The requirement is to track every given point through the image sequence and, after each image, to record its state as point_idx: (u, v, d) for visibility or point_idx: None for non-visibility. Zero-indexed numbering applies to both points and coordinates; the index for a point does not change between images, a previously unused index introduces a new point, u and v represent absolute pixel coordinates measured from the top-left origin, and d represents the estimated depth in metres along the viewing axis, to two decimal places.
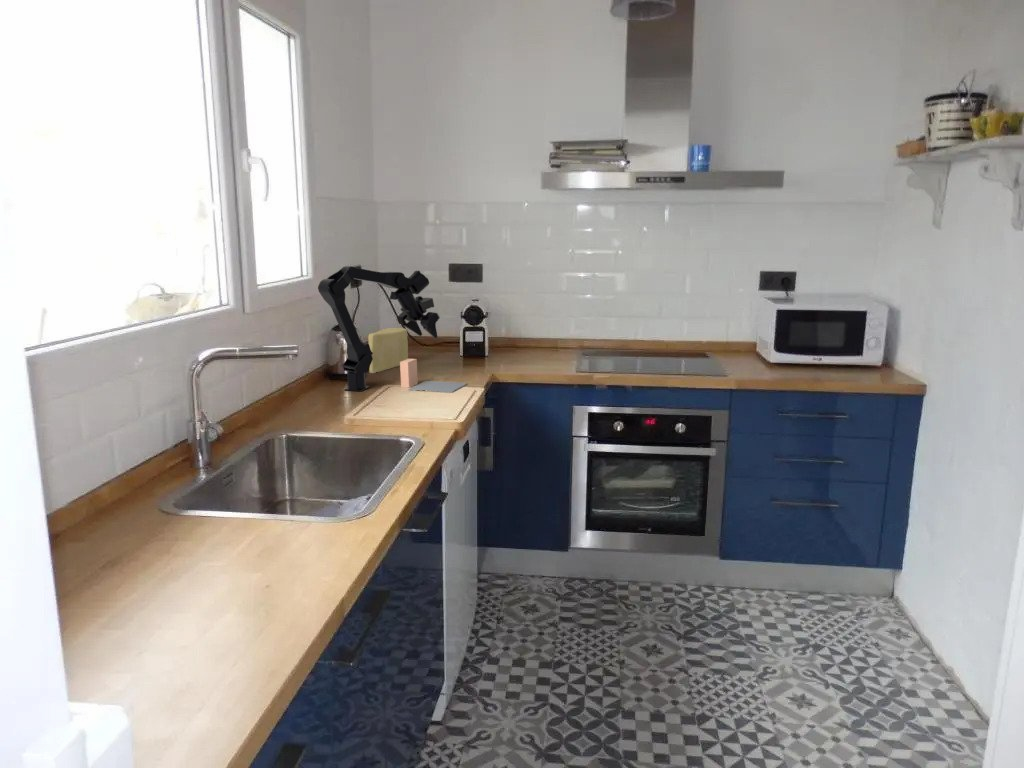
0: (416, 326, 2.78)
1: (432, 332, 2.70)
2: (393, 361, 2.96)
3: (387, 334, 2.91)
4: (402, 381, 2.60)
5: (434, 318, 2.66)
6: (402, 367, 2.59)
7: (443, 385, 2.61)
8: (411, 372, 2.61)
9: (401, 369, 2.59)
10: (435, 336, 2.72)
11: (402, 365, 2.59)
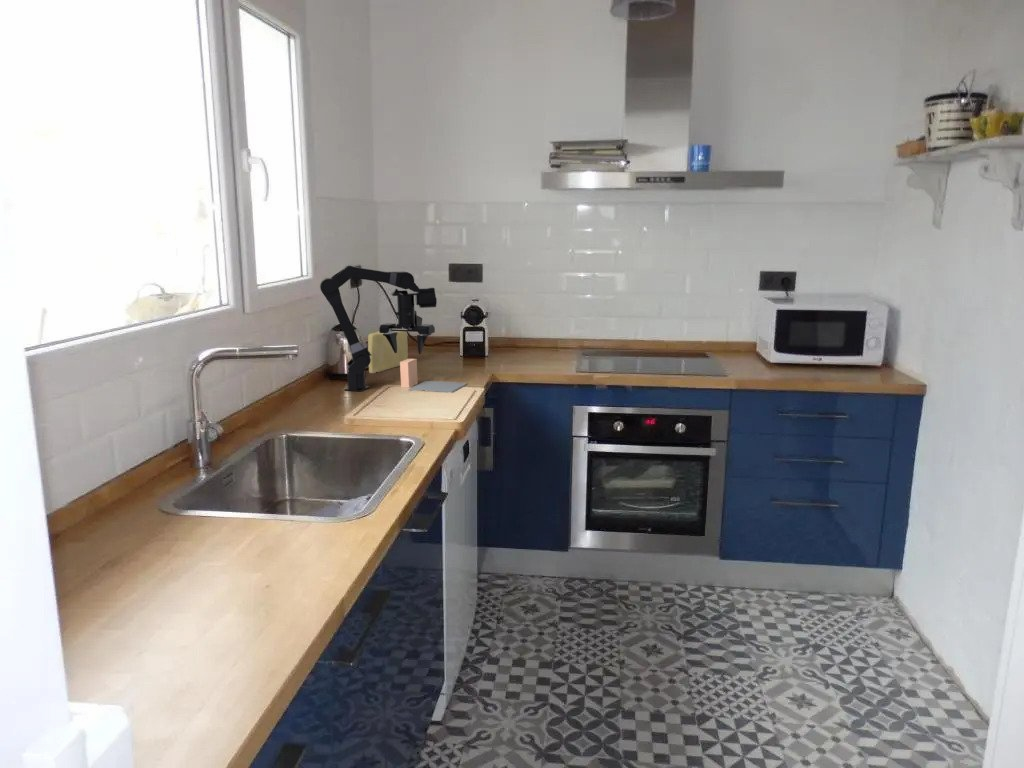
0: (395, 341, 2.62)
1: (421, 345, 2.58)
2: (392, 361, 2.96)
3: None
4: (402, 381, 2.60)
5: (432, 329, 2.57)
6: (402, 367, 2.59)
7: (443, 385, 2.61)
8: (411, 372, 2.61)
9: (401, 369, 2.59)
10: (420, 352, 2.59)
11: (402, 365, 2.59)
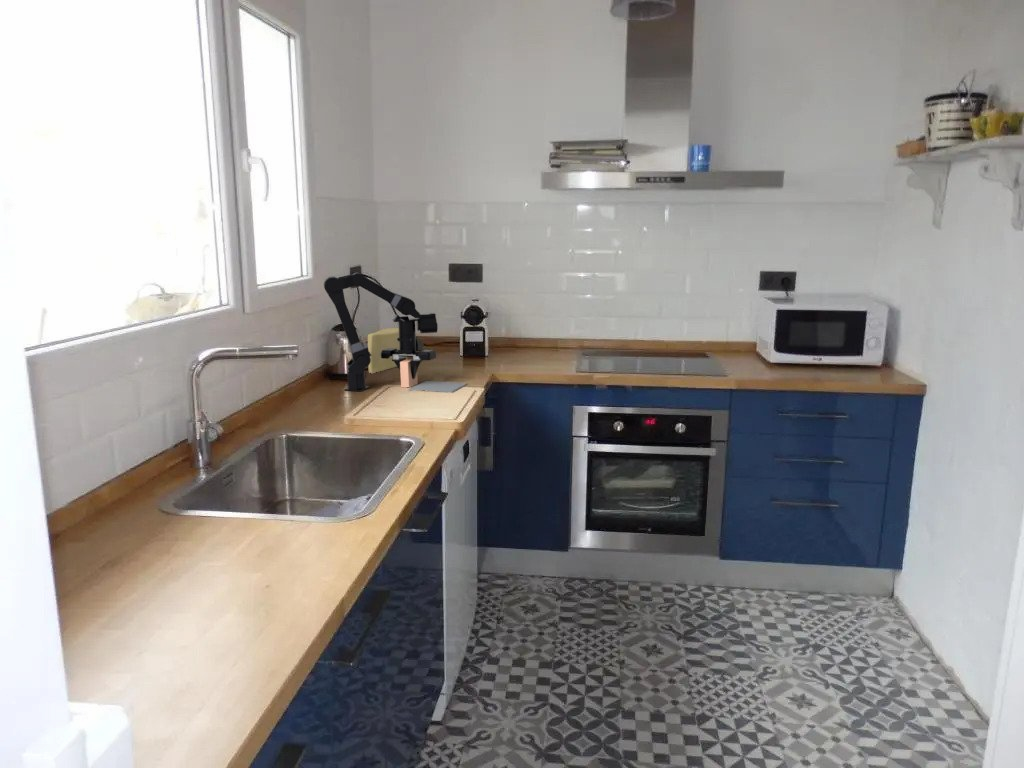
0: None
1: (415, 370, 2.61)
2: (392, 361, 2.96)
3: (386, 334, 2.91)
4: (402, 381, 2.60)
5: (433, 355, 2.59)
6: (402, 367, 2.59)
7: (443, 385, 2.61)
8: None
9: (401, 369, 2.59)
10: (414, 376, 2.62)
11: (402, 365, 2.59)
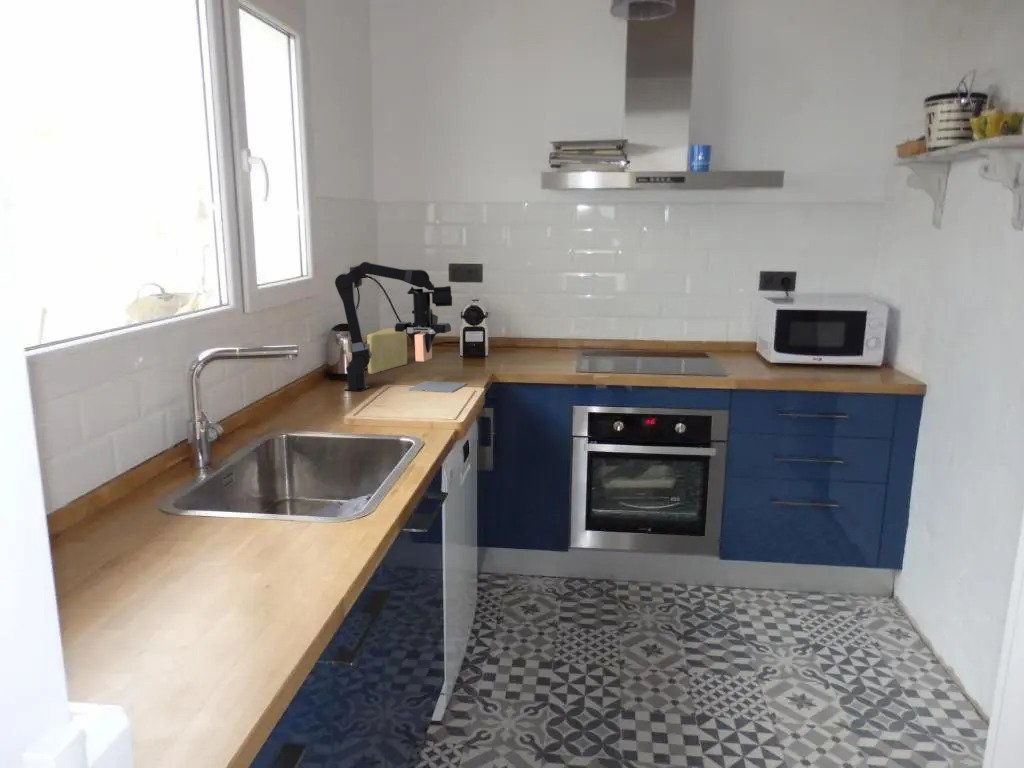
0: None
1: (429, 343, 2.57)
2: (392, 361, 2.95)
3: (386, 334, 2.91)
4: (416, 355, 2.56)
5: (448, 328, 2.55)
6: (417, 340, 2.55)
7: (443, 385, 2.61)
8: (425, 346, 2.57)
9: (416, 342, 2.55)
10: (428, 350, 2.58)
11: (416, 338, 2.55)
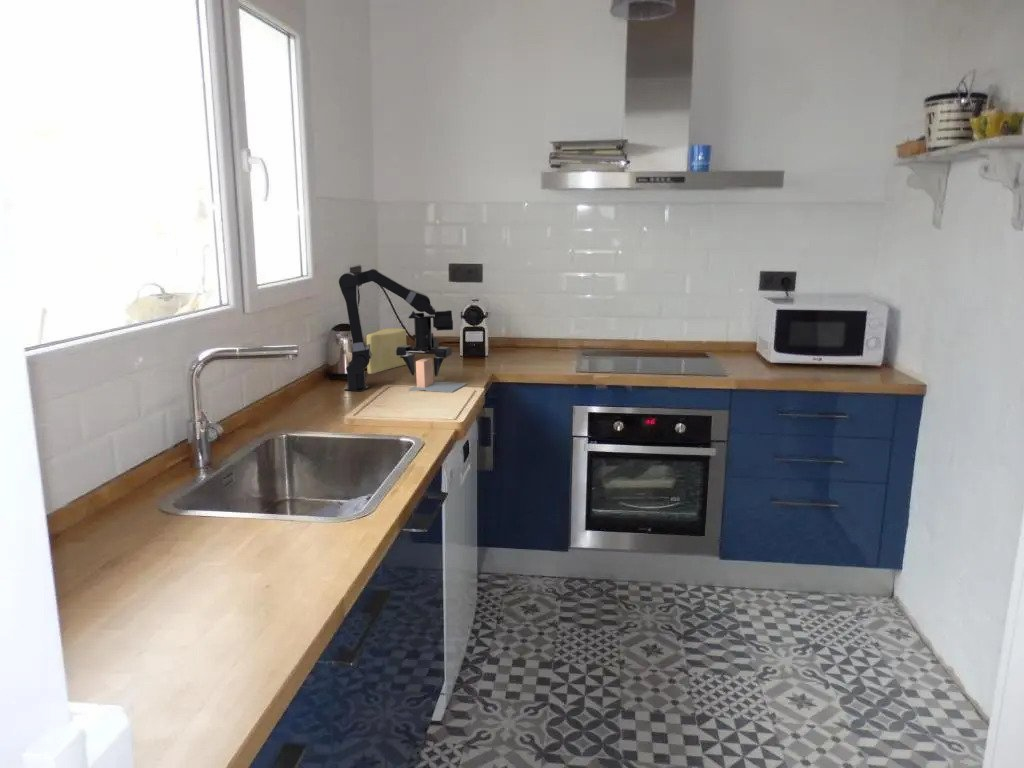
0: (412, 364, 2.62)
1: (437, 367, 2.58)
2: (391, 361, 2.95)
3: (385, 335, 2.90)
4: (418, 381, 2.58)
5: (449, 352, 2.57)
6: (418, 366, 2.57)
7: (443, 385, 2.61)
8: (426, 372, 2.59)
9: (417, 368, 2.57)
10: (436, 374, 2.59)
11: (418, 364, 2.57)
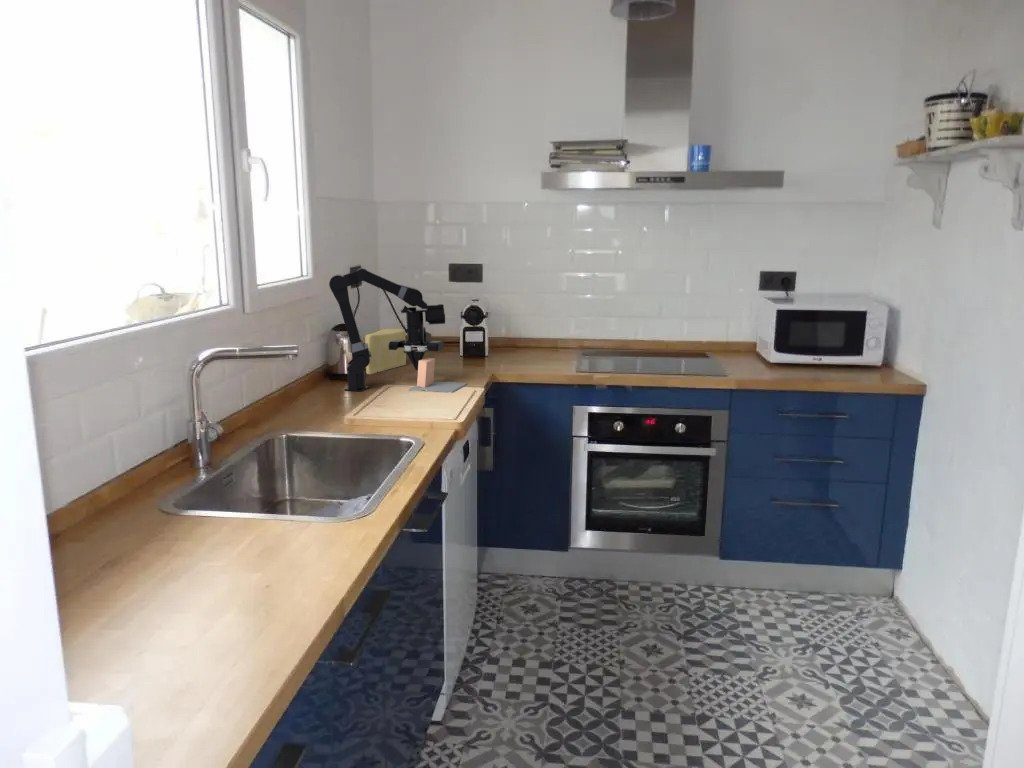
0: None
1: None
2: (390, 362, 2.94)
3: (384, 335, 2.89)
4: (418, 380, 2.58)
5: (441, 346, 2.57)
6: (420, 366, 2.57)
7: (443, 385, 2.61)
8: (428, 372, 2.59)
9: (419, 368, 2.57)
10: None
11: (420, 364, 2.57)
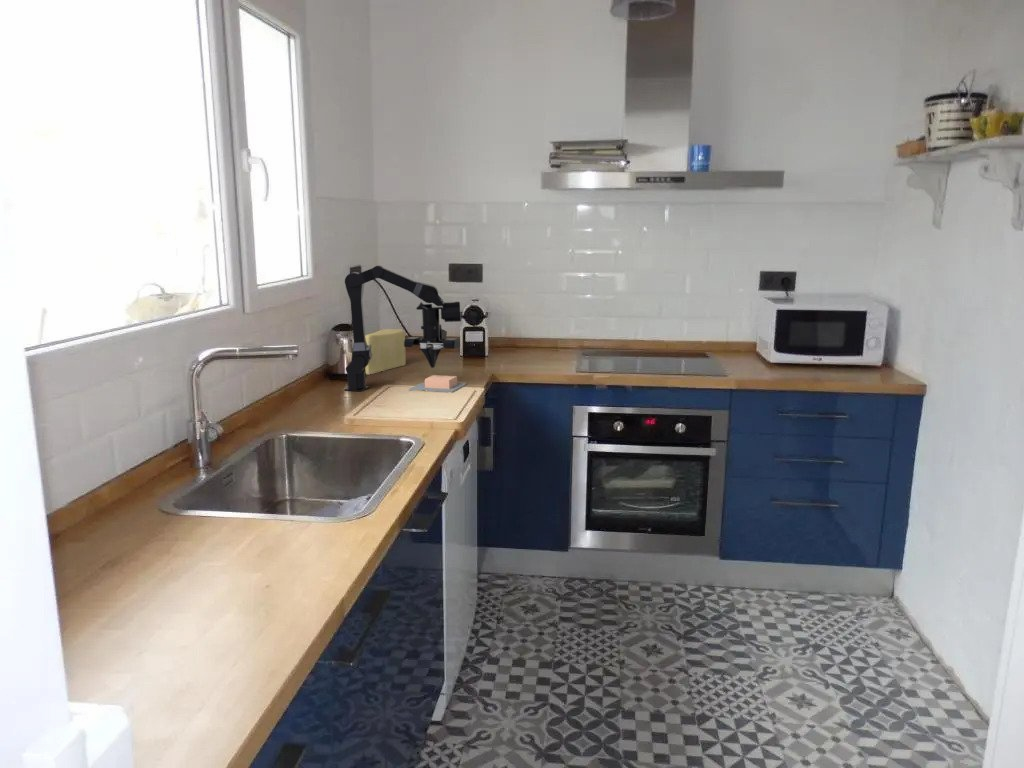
0: None
1: (434, 358, 2.57)
2: (389, 362, 2.93)
3: (384, 335, 2.89)
4: (430, 380, 2.57)
5: (457, 343, 2.55)
6: (444, 382, 2.55)
7: None
8: None
9: (442, 381, 2.55)
10: (433, 365, 2.59)
11: (446, 382, 2.55)
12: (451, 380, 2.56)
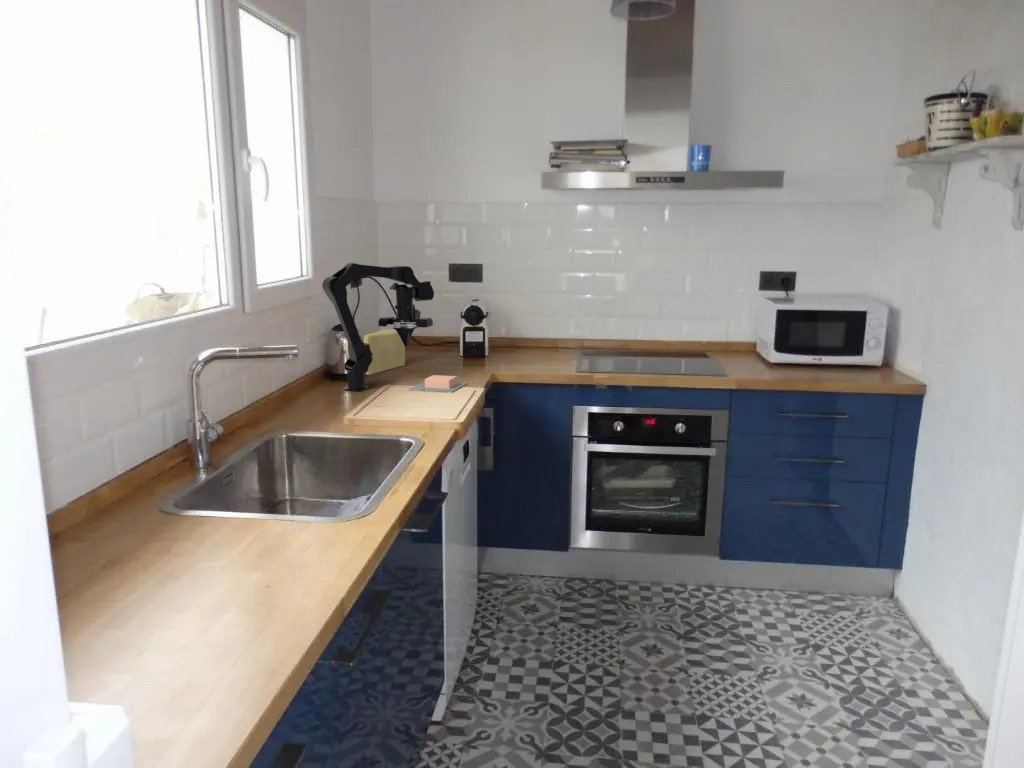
0: None
1: (408, 337, 2.64)
2: (389, 362, 2.93)
3: (383, 335, 2.88)
4: (430, 380, 2.57)
5: (430, 322, 2.62)
6: (444, 382, 2.55)
7: None
8: None
9: (442, 381, 2.55)
10: (407, 344, 2.66)
11: (446, 382, 2.55)
12: (451, 380, 2.56)
